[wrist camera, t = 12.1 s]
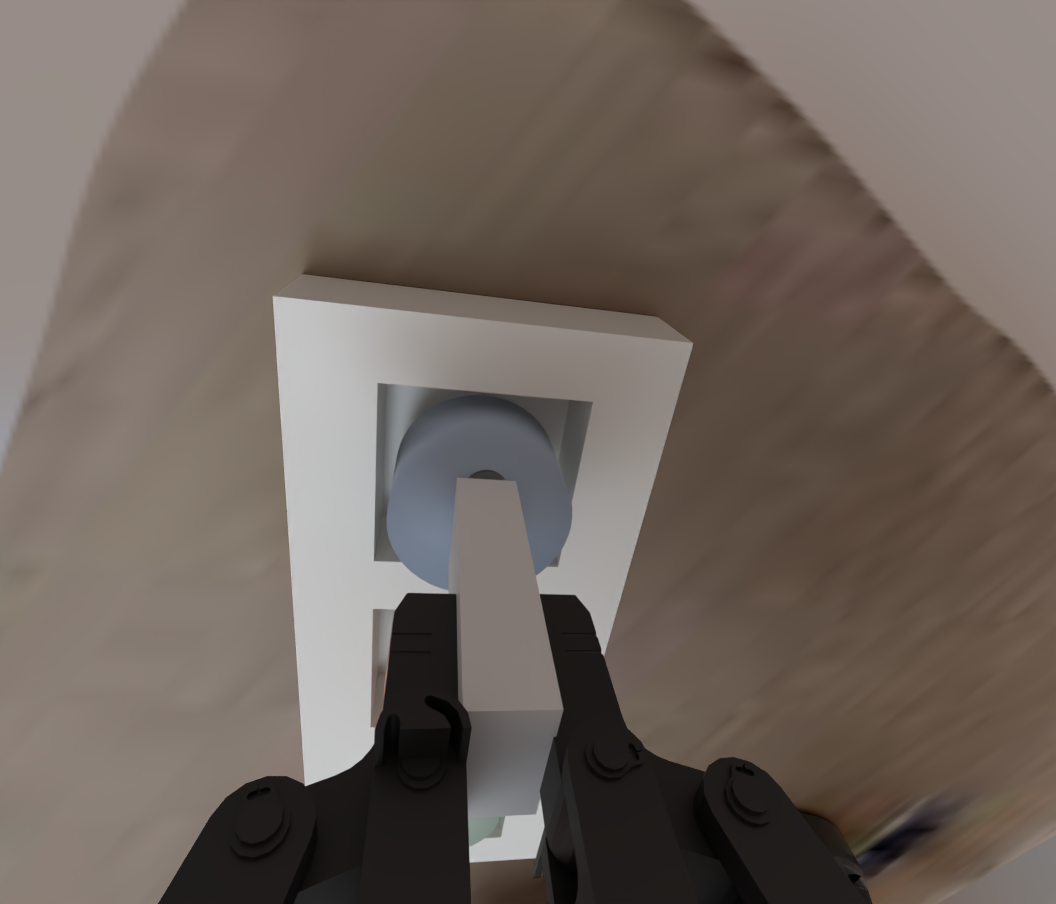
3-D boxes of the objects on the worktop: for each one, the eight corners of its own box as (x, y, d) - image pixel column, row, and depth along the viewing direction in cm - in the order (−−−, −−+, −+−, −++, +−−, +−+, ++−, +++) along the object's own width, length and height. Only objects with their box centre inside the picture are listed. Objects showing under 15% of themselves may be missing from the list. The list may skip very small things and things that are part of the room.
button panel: (657, 316, 18) (693, 343, 15) (537, 795, 29) (546, 857, 27) (302, 274, 16) (272, 296, 13) (324, 804, 27) (310, 873, 25)
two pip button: (566, 402, 17) (589, 450, 14) (541, 535, 19) (557, 600, 16) (399, 387, 16) (388, 436, 13) (393, 529, 18) (382, 596, 15)
